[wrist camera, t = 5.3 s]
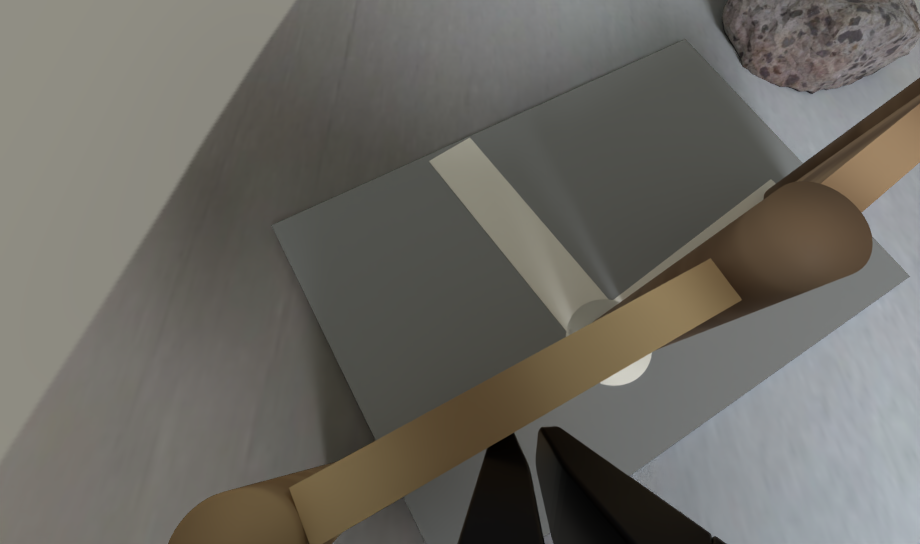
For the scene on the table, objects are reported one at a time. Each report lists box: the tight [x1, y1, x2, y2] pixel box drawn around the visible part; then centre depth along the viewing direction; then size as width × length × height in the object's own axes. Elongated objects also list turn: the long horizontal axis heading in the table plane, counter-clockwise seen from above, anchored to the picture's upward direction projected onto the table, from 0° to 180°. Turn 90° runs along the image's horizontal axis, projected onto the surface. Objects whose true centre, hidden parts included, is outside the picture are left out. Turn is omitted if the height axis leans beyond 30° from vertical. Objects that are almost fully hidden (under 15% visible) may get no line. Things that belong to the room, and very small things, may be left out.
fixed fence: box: [592, 78, 920, 350], centre depth 15 cm, size 13×2×11 cm, turn 126°
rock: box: [722, 0, 920, 94], centre depth 24 cm, size 9×11×4 cm
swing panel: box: [168, 258, 742, 544], centre depth 12 cm, size 11×2×10 cm, turn 118°
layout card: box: [271, 39, 910, 544], centre depth 20 cm, size 16×24×1 cm, turn 120°
